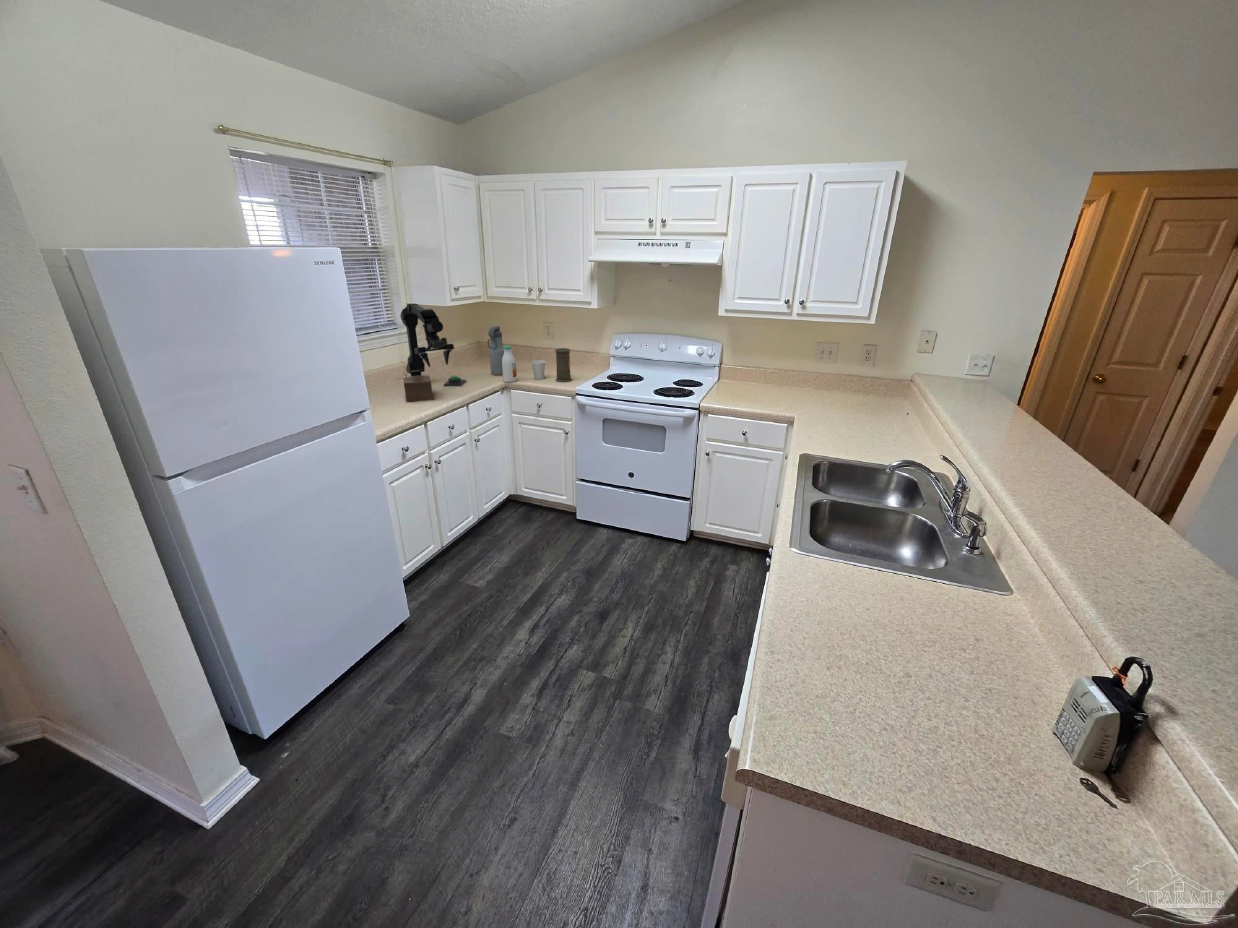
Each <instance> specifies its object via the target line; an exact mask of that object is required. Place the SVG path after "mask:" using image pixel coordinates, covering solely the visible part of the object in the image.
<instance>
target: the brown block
mask: <svg viewBox="0 0 1238 928" xmlns="http://www.w3.org/2000/svg"><path fill="white" fill-rule="evenodd" d="M427 375H428V376H415V377H408V376H403V386H404V392H405V399H406V403H413V402H423V401H425V402H426V401H433V400H434V394H433V388H432V380H431V376H430V375H429V374H427Z"/></svg>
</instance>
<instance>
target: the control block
mask: <svg viewBox="0 0 1238 928" xmlns="http://www.w3.org/2000/svg"><path fill="white" fill-rule="evenodd" d="M465 383H466V378H465V379H464V378H463V379H462V378H461V377H459V376H458V379H451V377H449V378H448V380H447V381H446V382H444V384H443V386H444V387H461V386H462V385H463V384H465Z"/></svg>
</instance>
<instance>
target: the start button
mask: <svg viewBox="0 0 1238 928" xmlns="http://www.w3.org/2000/svg"><path fill="white" fill-rule="evenodd" d="M458 377H459V376H458V375H451V376H450V378H451V379H458Z"/></svg>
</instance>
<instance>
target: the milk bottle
mask: <svg viewBox="0 0 1238 928" xmlns="http://www.w3.org/2000/svg"><path fill="white" fill-rule="evenodd" d="M503 348H504V355H503V358H502V370H503V375H502V380H503V382H505V383H514V382H517V380H518V377H517V364H516V359H515V356H514V354H513V352H512V350H513V347H512V345H503Z"/></svg>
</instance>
